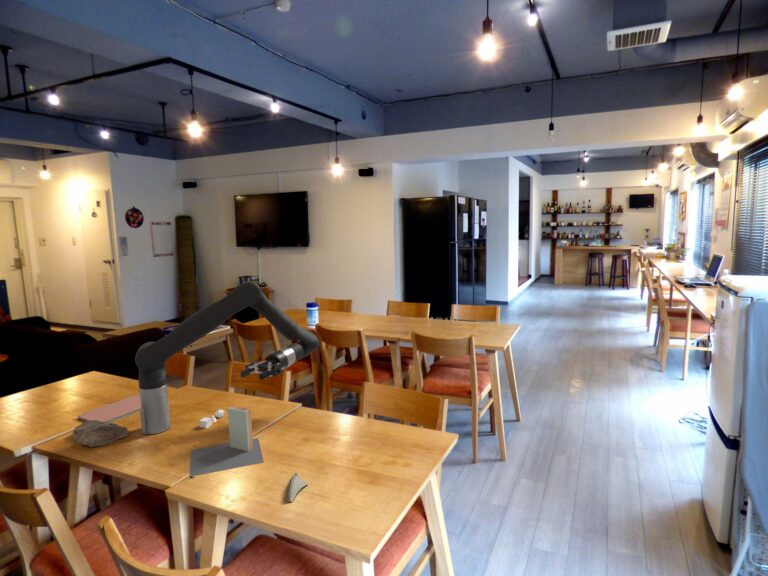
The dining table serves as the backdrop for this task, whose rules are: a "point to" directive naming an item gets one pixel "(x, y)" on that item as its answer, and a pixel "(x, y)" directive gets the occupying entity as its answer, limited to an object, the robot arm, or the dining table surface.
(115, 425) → the grey rock
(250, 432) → the tile
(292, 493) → the ceramic fragment
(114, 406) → the notebook
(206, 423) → the game pieces
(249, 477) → the dining table surface
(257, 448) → the mat
